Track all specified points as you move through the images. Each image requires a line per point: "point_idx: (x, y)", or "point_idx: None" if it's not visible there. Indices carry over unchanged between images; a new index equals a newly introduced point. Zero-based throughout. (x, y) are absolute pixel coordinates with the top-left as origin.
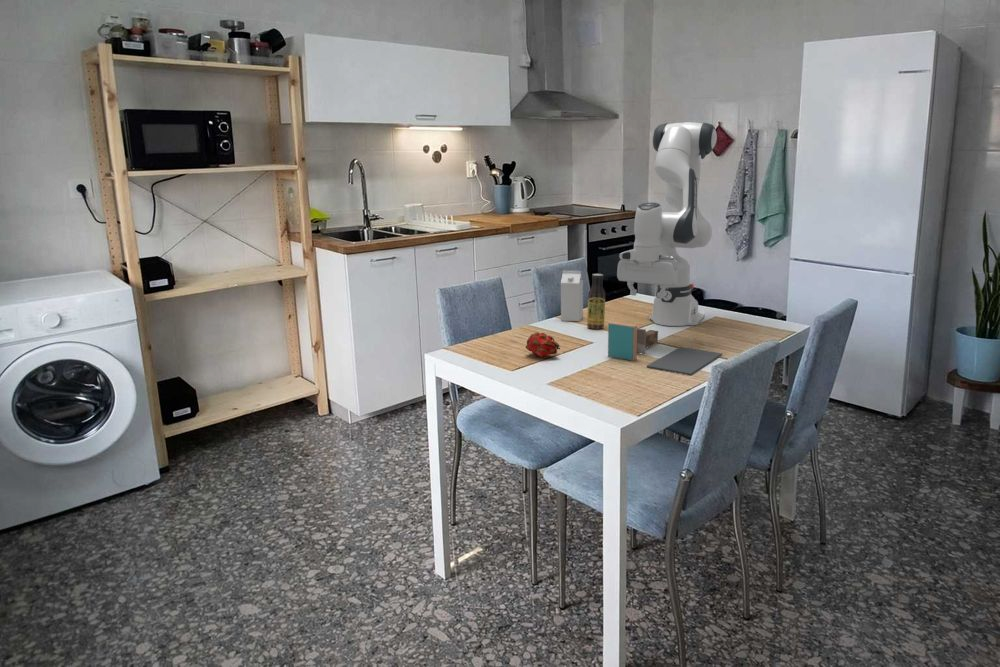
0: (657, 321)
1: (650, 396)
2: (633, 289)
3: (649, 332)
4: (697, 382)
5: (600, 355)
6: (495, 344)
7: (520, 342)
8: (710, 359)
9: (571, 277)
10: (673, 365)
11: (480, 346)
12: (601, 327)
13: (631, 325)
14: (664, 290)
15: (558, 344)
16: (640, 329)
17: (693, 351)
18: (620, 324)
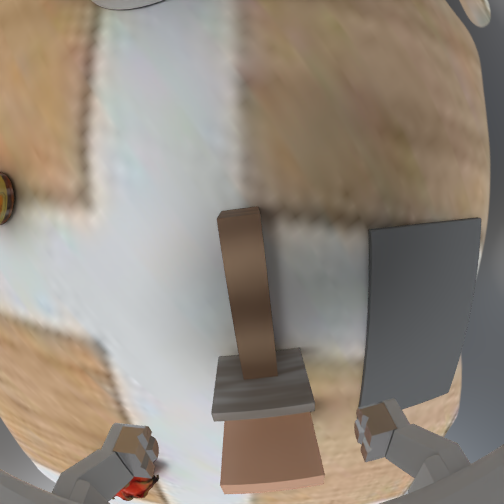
0: (114, 4)
1: (403, 471)
2: (123, 464)
3: (243, 259)
4: (457, 402)
5: (208, 419)
6: (26, 427)
7: (28, 406)
8: (471, 290)
9: None
10: (410, 384)
11: (29, 440)
12: (12, 198)
13: (308, 482)
14: (429, 438)
15: (152, 481)
16: (295, 411)
17: (422, 253)
18: (270, 490)
